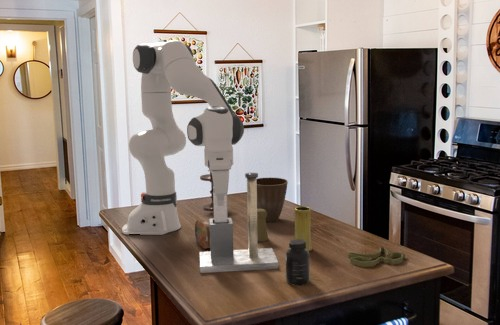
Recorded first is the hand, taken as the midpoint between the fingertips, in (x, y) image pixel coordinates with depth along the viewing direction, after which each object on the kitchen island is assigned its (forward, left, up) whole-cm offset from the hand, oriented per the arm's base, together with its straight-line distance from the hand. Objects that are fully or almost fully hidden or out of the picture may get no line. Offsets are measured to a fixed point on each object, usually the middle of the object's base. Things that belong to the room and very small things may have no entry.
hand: (220, 203), depth 174 cm
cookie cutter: (+49, -4, -20) cm, 53 cm away
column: (0, 0, -15) cm, 15 cm away
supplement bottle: (+21, -18, -20) cm, 34 cm away
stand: (+5, 0, -20) cm, 20 cm away
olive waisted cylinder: (+15, +24, -20) cm, 35 cm away
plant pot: (+22, +49, -20) cm, 57 cm away
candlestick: (0, +72, -20) cm, 75 cm away
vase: (+28, +10, -20) cm, 36 cm away
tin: (-5, +20, -20) cm, 29 cm away
